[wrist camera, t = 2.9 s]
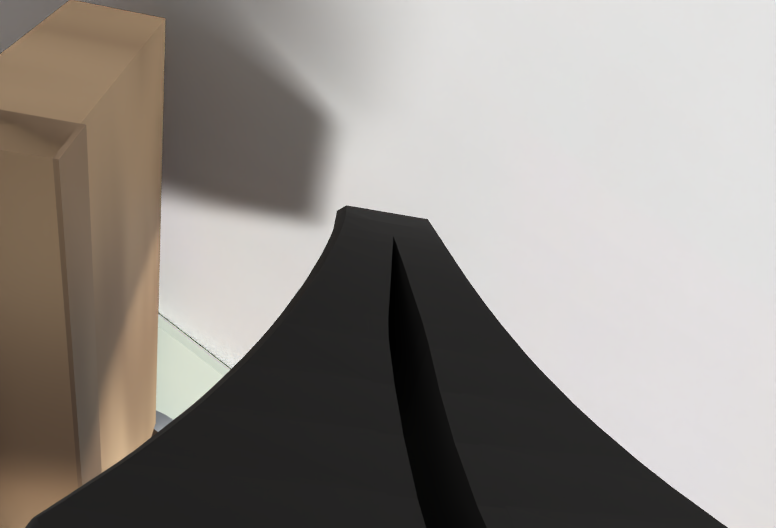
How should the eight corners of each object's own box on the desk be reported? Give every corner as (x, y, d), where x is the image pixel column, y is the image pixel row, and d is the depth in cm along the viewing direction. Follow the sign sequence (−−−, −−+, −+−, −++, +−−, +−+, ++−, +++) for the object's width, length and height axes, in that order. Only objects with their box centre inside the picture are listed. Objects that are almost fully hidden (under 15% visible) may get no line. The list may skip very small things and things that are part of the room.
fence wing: (158, 423, 14) (92, 629, 10) (89, 415, 13) (0, 622, 10) (169, 19, 9) (59, 160, 6) (65, -2, 9) (-107, 132, 6)
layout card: (424, 519, 17) (426, 530, 17) (129, 660, 21) (126, 670, 20) (-237, 8, 10) (-253, 14, 9) (-507, 371, 13) (-522, 382, 13)
